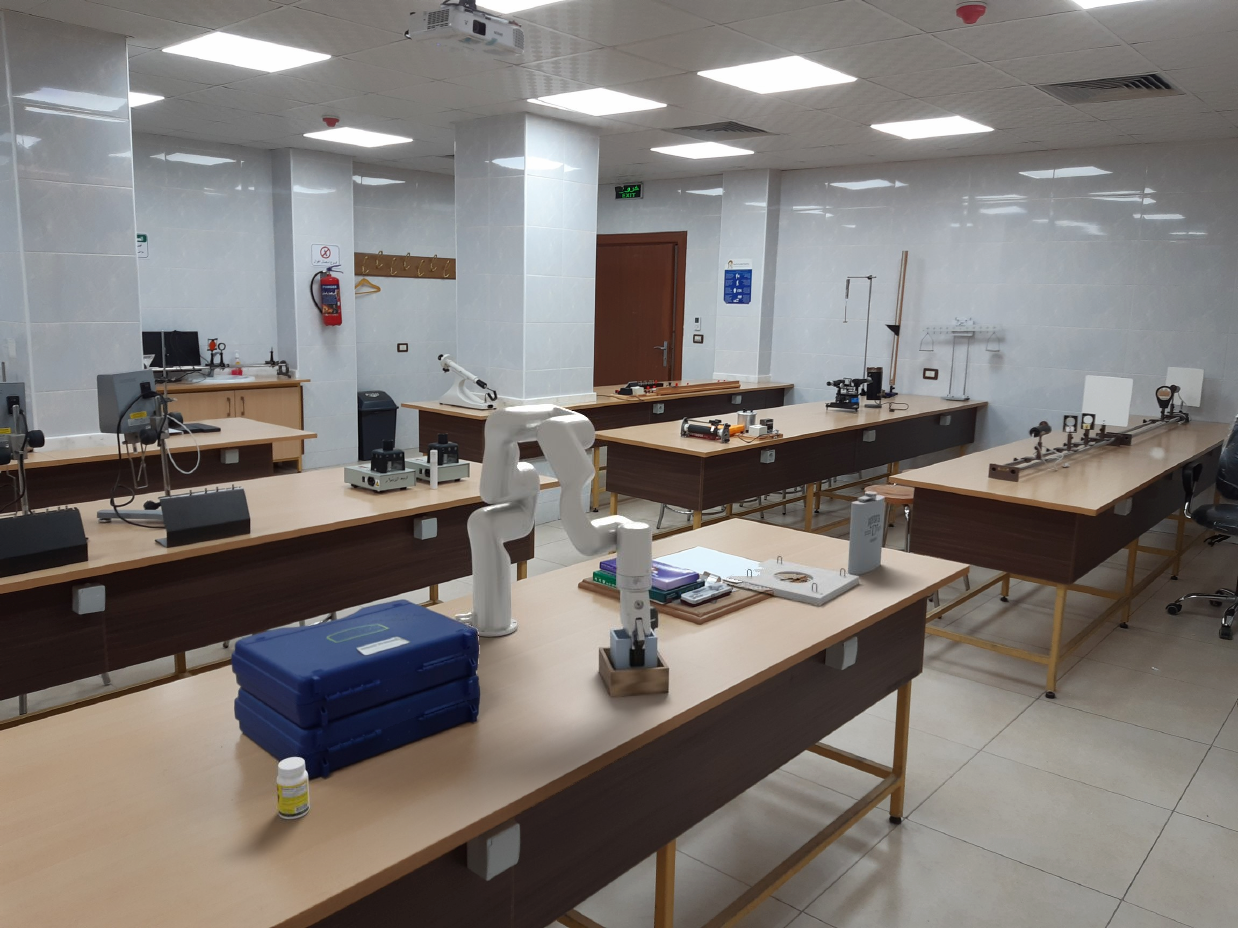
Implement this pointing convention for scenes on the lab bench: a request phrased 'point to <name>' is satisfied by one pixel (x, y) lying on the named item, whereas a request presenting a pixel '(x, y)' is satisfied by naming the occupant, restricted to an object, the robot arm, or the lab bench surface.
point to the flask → (866, 533)
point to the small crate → (621, 650)
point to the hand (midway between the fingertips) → (633, 658)
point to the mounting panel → (813, 591)
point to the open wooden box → (633, 677)
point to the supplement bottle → (292, 788)
